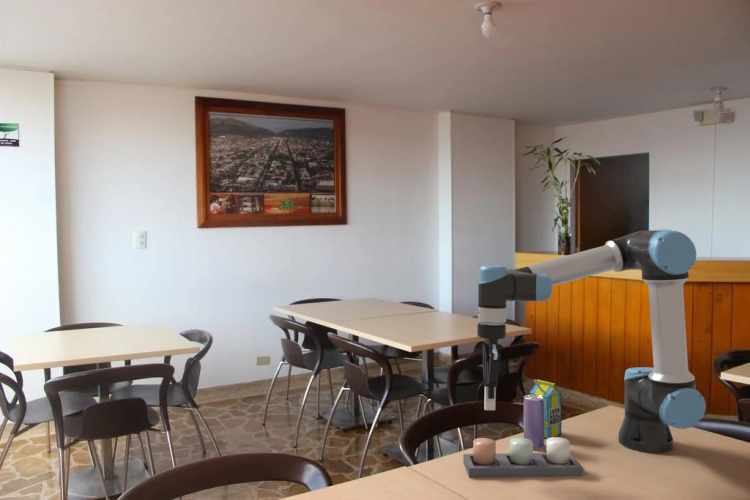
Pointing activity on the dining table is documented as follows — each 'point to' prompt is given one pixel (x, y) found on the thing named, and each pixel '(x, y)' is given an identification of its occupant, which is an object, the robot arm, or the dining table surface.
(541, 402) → the beverage can
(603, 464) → the dining table surface
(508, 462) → the dark grey flat tray
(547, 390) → the carton
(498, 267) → the robot arm
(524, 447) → the sage button
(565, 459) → the ivory button
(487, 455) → the terracotta button
